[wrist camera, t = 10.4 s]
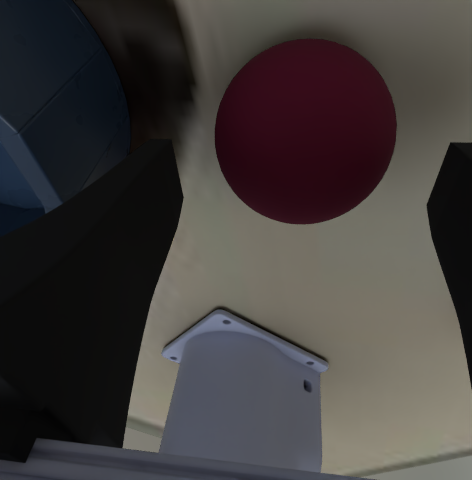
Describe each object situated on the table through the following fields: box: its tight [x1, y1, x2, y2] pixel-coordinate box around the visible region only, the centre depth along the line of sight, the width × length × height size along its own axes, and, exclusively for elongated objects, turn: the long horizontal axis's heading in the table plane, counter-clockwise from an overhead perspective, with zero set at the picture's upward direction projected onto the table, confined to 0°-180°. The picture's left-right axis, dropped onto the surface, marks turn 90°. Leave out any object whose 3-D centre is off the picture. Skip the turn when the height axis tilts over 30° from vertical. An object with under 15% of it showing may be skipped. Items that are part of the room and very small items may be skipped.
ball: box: [215, 39, 397, 224], centre depth 12 cm, size 5×5×5 cm
